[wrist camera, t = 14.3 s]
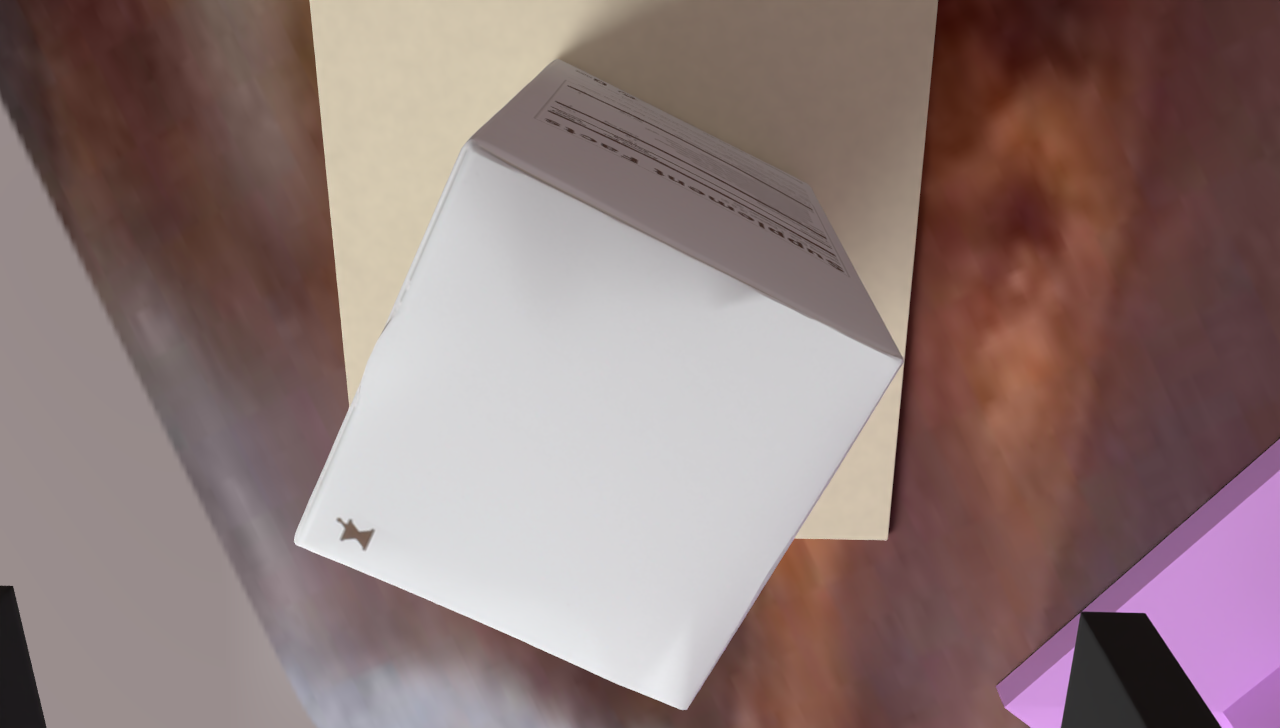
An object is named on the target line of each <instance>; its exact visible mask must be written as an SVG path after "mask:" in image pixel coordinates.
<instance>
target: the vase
mask: <svg viewBox="0 0 1280 728" xmlns="http://www.w3.org/2000/svg"><path fill="white" fill-rule="evenodd" d="M1082 612H1123V613H1146V615H1147V616H1148V618H1149V619H1150V621H1151V622H1152V624H1153V625H1154V627H1155V628H1156V630H1157V631H1158V633H1159V634H1160V636H1161V637H1162V639H1163V640H1164V642H1165V643H1166V645H1167V646H1168V648H1169V649H1170V651H1171V652H1172V654H1173V655H1174V657H1175V658H1176V660H1177V661H1178V663H1179V664H1180V666H1181V667H1182V669H1183V670H1184V672H1185V673H1186V675H1187V676H1188V678H1189V679H1190V681H1191V682H1192V684H1193V685H1194V687H1195V688H1196V690H1197V691H1198V693H1199V694H1200V696H1201V697H1202V699H1203V700H1204V702H1205V703H1206V705H1207V706H1208V708H1209V709H1210V711H1211V712H1212V714H1213V715H1214V717H1215V718H1216V720H1217V721H1218V723H1219V724H1220V726H1221V727H1222V728H1280V439H1279V440H1278V441H1277V442H1275V443H1274V444H1273V445H1272V446H1271V447H1270V448H1269V449H1267V450H1266V451H1265V452H1264V453H1263V454H1262V455H1261V456H1259V457H1258V458H1257V459H1256V460H1255V461H1254V462H1252V463H1251V464H1250V465H1249V466H1248V467H1247V468H1246V469H1244V470H1243V471H1242V472H1241V473H1240V474H1239V475H1238V476H1236V477H1235V478H1234V479H1233V480H1232V481H1231V482H1230V483H1228V484H1227V485H1226V486H1225V487H1224V488H1223V489H1222V490H1220V491H1219V492H1218V493H1217V494H1216V495H1215V496H1213V497H1212V498H1211V499H1210V500H1209V501H1208V502H1207V503H1205V504H1204V505H1203V506H1202V507H1201V508H1200V509H1199V510H1197V511H1196V512H1195V513H1194V514H1193V515H1192V516H1191V517H1189V518H1188V519H1187V520H1186V521H1185V522H1184V523H1183V524H1181V525H1180V526H1179V527H1178V528H1177V529H1176V530H1175V531H1173V532H1172V533H1171V534H1170V535H1169V536H1168V537H1166V538H1165V539H1164V540H1163V541H1162V542H1161V543H1160V544H1158V545H1157V546H1156V547H1155V548H1154V549H1153V550H1152V551H1150V552H1149V553H1148V554H1147V555H1146V556H1145V557H1144V558H1142V559H1141V560H1140V561H1139V562H1138V563H1137V564H1136V565H1134V566H1133V567H1132V568H1131V569H1130V570H1129V571H1128V572H1126V573H1125V574H1124V575H1123V576H1122V577H1121V578H1119V579H1118V580H1117V581H1116V582H1115V583H1114V584H1113V585H1111V586H1110V587H1109V588H1108V589H1107V590H1106V591H1105V592H1103V593H1102V594H1101V595H1100V596H1099V597H1098V598H1097V599H1095V600H1094V601H1093V602H1092V603H1091V604H1090V605H1089V606H1087V607H1086V608H1085V609H1084V610H1083V611H1082ZM1079 619H1080V613H1079V614H1078V615H1077V616H1076V617H1075V618H1074V619H1072V620H1071V621H1070V622H1069V623H1068V624H1067V625H1066V626H1064V627H1063V628H1062V629H1061V630H1060V631H1059V632H1058V633H1056V634H1055V635H1054V636H1053V637H1052V638H1051V639H1050V640H1048V641H1047V642H1046V643H1045V644H1044V645H1043V646H1042V647H1040V648H1039V649H1038V650H1037V651H1036V652H1035V653H1034V654H1032V655H1031V656H1030V657H1029V658H1028V659H1027V660H1025V661H1024V662H1023V663H1022V664H1021V665H1020V666H1019V667H1017V668H1016V669H1015V670H1014V671H1013V672H1012V673H1011V674H1009V675H1008V676H1007V677H1006V678H1005V679H1004V680H1003V681H1001V682H1000V683H999V684H998V685H997V686H996V688H997V691H998V693H999V696H1000V698H1001V700H1002V703H1003V705H1004V707H1005V708H1006V709H1007V710H1008V711H1010V712H1011V713H1012V714H1014V715H1015V716H1016V717H1018V718H1019V719H1020V720H1022V721H1023V722H1024V723H1026V724H1027V725H1028V726H1030V727H1031V728H1061V724H1062V718H1063V713H1064V707H1065V701H1066V695H1067V689H1068V683H1069V678H1070V672H1071V666H1072V660H1073V654H1074V648H1075V643H1076V637H1077V631H1078V625H1079Z"/></svg>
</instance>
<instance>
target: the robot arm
mask: <svg viewBox="0 0 1280 728" xmlns="http://www.w3.org/2000/svg"><path fill="white" fill-rule="evenodd" d="M0 728H46V724H45V720H44V715H43V711H42V707H41V703H40V698H39V694H38V690H37V686H36V682H35V677H34V673H33V669H32V664H31V660H30V656H29V652H28V648H27V643H26V640H25V635H24V631H23V626H22V622H21V618H20V614H19V609H18V605H17V601H16V597H15V592H14V588H13V586H0ZM1061 728H1222V727H1221V726H1220V724H1219V723H1218V721H1217V720H1216V718H1215V717H1214V715H1213V714H1212V712H1211V711H1210V709H1209V708H1208V706H1207V705H1206V703H1205V702H1204V700H1203V699H1202V697H1201V696H1200V694H1199V693H1198V691H1197V690H1196V688H1195V687H1194V685H1193V684H1192V682H1191V681H1190V679H1189V678H1188V676H1187V675H1186V673H1185V672H1184V670H1183V669H1182V667H1181V666H1180V664H1179V663H1178V661H1177V660H1176V658H1175V657H1174V655H1173V654H1172V652H1171V651H1170V649H1169V648H1168V646H1167V645H1166V643H1165V642H1164V640H1163V639H1162V637H1161V636H1160V634H1159V633H1158V631H1157V630H1156V628H1155V627H1154V625H1153V624H1152V622H1151V621H1150V619H1149V618H1148V616H1147V615H1146V613H1123V612H1081V613H1080V619H1079V625H1078V631H1077V637H1076V643H1075V648H1074V654H1073V660H1072V666H1071V672H1070V678H1069V683H1068V689H1067V695H1066V701H1065V707H1064V713H1063V718H1062V724H1061Z"/></svg>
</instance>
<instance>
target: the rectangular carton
mask: <svg viewBox="0 0 1280 728" xmlns="http://www.w3.org/2000/svg"><path fill="white" fill-rule="evenodd" d="M903 363H904V360H903V356H902V355H901V353H900V351H899V349H898V348H897V346H896V344H895V342H894V340H893V338H892V336H891V335H890V333H889V331H888V329H887V327H886V325H885V323H884V321H883V320H882V318H881V316H880V314H879V312H878V310H877V309H876V307H875V305H874V303H873V301H872V299H871V298H870V296H869V294H868V292H867V290H866V288H865V287H864V285H863V283H862V281H861V279H860V277H859V276H858V274H857V272H856V270H855V268H854V266H853V264H852V262H851V260H850V259H849V257H848V255H847V253H846V251H845V249H844V247H843V246H842V244H841V242H840V240H839V238H838V236H837V234H836V233H835V231H834V229H833V227H832V225H831V223H830V222H829V220H828V218H827V216H826V214H825V212H824V210H823V208H822V207H821V205H820V203H819V201H818V200H817V198H816V196H815V194H814V192H813V190H812V188H811V187H810V186H809V185H808V184H807V183H805V182H803V181H801V180H799V179H797V178H795V177H794V176H792V175H790V174H788V173H786V172H784V171H782V170H780V169H778V168H776V167H774V166H772V165H770V164H768V163H766V162H764V161H762V160H760V159H758V158H756V157H754V156H752V155H750V154H748V153H746V152H744V151H742V150H740V149H738V148H736V147H734V146H732V145H730V144H728V143H726V142H724V141H722V140H720V139H718V138H716V137H714V136H712V135H710V134H708V133H706V132H704V131H702V130H700V129H698V128H696V127H694V126H692V125H690V124H688V123H686V122H684V121H682V120H680V119H678V118H676V117H674V116H672V115H670V114H668V113H666V112H664V111H662V110H660V109H658V108H656V107H654V106H652V105H650V104H648V103H646V102H644V101H642V100H640V99H638V98H636V97H634V96H632V95H630V94H629V93H627V92H625V91H623V90H621V89H619V88H617V87H615V86H613V85H611V84H609V83H607V82H605V81H603V80H601V79H599V78H597V77H595V76H593V75H591V74H589V73H587V72H585V71H583V70H581V69H579V68H577V67H574V66H572V65H570V64H568V63H566V62H564V61H562V60H560V59H556V60H554V61H552V62H551V63H549V64H548V65H547V66H546V67H545V68H544V69H543V70H542V71H541V72H540V73H539V74H538V75H537V76H536V77H535V78H534V79H533V80H532V81H531V82H529V83H528V84H527V85H526V86H525V87H524V88H523V89H522V90H521V91H520V92H519V93H518V94H517V95H516V96H514V97H513V98H512V99H511V100H510V101H509V102H508V103H507V104H506V105H505V106H504V107H503V108H502V109H501V110H499V111H498V112H497V113H496V114H495V115H494V116H493V117H492V118H491V119H490V120H489V121H488V122H486V123H485V124H484V125H483V126H482V127H481V128H480V129H479V130H478V131H477V132H476V133H475V134H474V135H472V136H471V137H470V138H469V140H468V141H467V142H466V143H465V144H464V146H463V147H462V148H461V150H460V153H459V155H458V157H457V159H456V162H455V164H454V166H453V169H452V171H451V173H450V176H449V178H448V180H447V183H446V185H445V187H444V190H443V192H442V194H441V197H440V199H439V201H438V204H437V206H436V208H435V211H434V213H433V215H432V218H431V220H430V222H429V225H428V227H427V229H426V232H425V234H424V236H423V239H422V241H421V243H420V245H419V248H418V250H417V252H416V255H415V257H414V259H413V262H412V264H411V266H410V269H409V271H408V273H407V276H406V278H405V280H404V283H403V285H402V287H401V290H400V292H399V294H398V296H397V299H396V301H395V303H394V306H393V308H392V310H391V313H390V315H389V317H388V320H387V322H386V324H385V327H384V329H383V331H382V333H381V335H380V337H379V339H378V340H377V342H376V344H375V346H374V348H373V351H372V353H371V355H370V357H369V359H368V361H367V364H366V367H365V371H364V374H363V377H362V380H361V382H360V384H359V387H358V389H357V391H356V394H355V396H354V398H353V401H352V403H351V405H350V408H349V410H348V412H347V415H346V417H345V419H344V421H343V424H342V426H341V428H340V431H339V433H338V435H337V438H336V440H335V443H334V445H333V447H332V450H331V452H330V454H329V457H328V459H327V461H326V464H325V466H324V468H323V471H322V473H321V475H320V477H319V479H318V482H317V484H316V486H315V488H314V491H313V493H312V495H311V498H310V500H309V502H308V505H307V507H306V509H305V512H304V514H303V516H302V519H301V521H300V523H299V526H298V528H297V531H296V534H295V538H294V542H295V544H296V545H298V546H300V547H303V548H305V549H307V550H310V551H312V552H314V553H317V554H319V555H322V556H324V557H327V558H329V559H332V560H334V561H337V562H339V563H342V564H344V565H346V566H349V567H351V568H354V569H356V570H358V571H361V572H363V573H366V574H368V575H371V576H373V577H375V578H378V579H380V580H383V581H385V582H387V583H390V584H392V585H394V586H397V587H399V588H401V589H404V590H406V591H409V592H411V593H413V594H416V595H418V596H420V597H423V598H425V599H427V600H430V601H432V602H434V603H437V604H439V605H441V606H444V607H446V608H448V609H451V610H453V611H455V612H458V613H460V614H462V615H465V616H467V617H469V618H472V619H474V620H476V621H478V622H481V623H483V624H485V625H488V626H490V627H492V628H494V629H497V630H499V631H501V632H504V633H506V634H508V635H510V636H513V637H515V638H517V639H520V640H522V641H524V642H526V643H528V644H530V645H532V646H534V647H537V648H539V649H541V650H544V651H546V652H548V653H550V654H552V655H555V656H557V657H559V658H561V659H563V660H566V661H568V662H570V663H572V664H574V665H577V666H579V667H581V668H583V669H585V670H588V671H590V672H592V673H594V674H596V675H598V676H601V677H603V678H605V679H607V680H609V681H612V682H614V683H616V684H619V685H621V686H624V687H626V688H629V689H631V690H634V691H636V692H639V693H641V694H644V695H646V696H649V697H651V698H653V699H656V700H658V701H661V702H663V703H666V704H668V705H671V706H673V707H676V708H678V709H680V710H687V708H688V707H689V705H690V704H691V702H692V701H693V699H694V698H695V696H696V695H697V693H698V692H699V690H700V688H701V687H702V685H703V684H704V682H705V681H706V679H707V677H708V676H709V674H710V673H711V671H712V669H713V668H714V666H715V665H716V663H717V661H718V660H719V658H720V657H721V655H722V653H723V652H724V650H725V649H726V647H727V645H728V644H729V642H730V640H731V639H732V637H733V636H734V634H735V632H736V631H737V629H738V628H739V626H740V624H741V623H742V621H743V620H744V618H745V616H746V615H747V613H748V612H749V610H750V608H751V607H752V605H753V604H754V602H755V600H756V599H757V597H758V596H759V594H760V592H761V591H762V589H763V587H764V586H765V584H766V583H767V581H768V579H769V578H770V576H771V575H772V573H773V571H774V570H775V568H776V567H777V565H778V563H779V562H780V560H781V559H782V557H783V555H784V554H785V552H786V551H787V549H788V547H789V546H790V544H791V543H792V541H793V539H794V538H795V536H796V535H797V533H798V532H799V530H800V528H801V527H802V525H803V524H804V522H805V520H806V519H807V517H808V516H809V514H810V513H811V511H812V509H813V508H814V506H815V505H816V503H817V501H818V500H819V498H820V497H821V495H822V493H823V492H824V490H825V489H826V487H827V486H828V484H829V482H830V481H831V479H832V478H833V476H834V474H835V473H836V471H837V470H838V468H839V466H840V465H841V463H842V461H843V460H844V458H845V457H846V455H847V453H848V452H849V450H850V449H851V447H852V445H853V444H854V442H855V440H856V439H857V437H858V436H859V434H860V432H861V431H862V429H863V427H864V426H865V424H866V423H867V421H868V419H869V418H870V416H871V414H872V413H873V411H874V409H875V408H876V406H877V405H878V403H879V401H880V400H881V398H882V396H883V395H884V393H885V391H886V390H887V388H888V387H889V385H890V383H891V382H892V380H893V379H894V377H895V375H896V374H897V372H898V371H899V369H900V368H901V366H902V364H903Z"/></svg>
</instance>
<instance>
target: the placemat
mask: <svg viewBox="0 0 1280 728" xmlns="http://www.w3.org/2000/svg"><path fill="white" fill-rule="evenodd" d="M937 8H938V0H310V9H311V19H312V29H313V40H314V50H315V60H316V70H317V80H318V91H319V101H320V111H321V121H322V132H323V142H324V152H325V162H326V173H327V183H328V193H329V203H330V213H331V224H332V234H333V244H334V254H335V265H336V275H337V285H338V295H339V306H340V316H341V326H342V336H343V346H344V357H345V367H346V377H347V387H348V398H349V408H350V405H351V403H352V401H353V398H354V396H355V394H356V391H357V389H358V387H359V384H360V382H361V380H362V377H363V374H364V371H365V367H366V364H367V361H368V359H369V357H370V355H371V353H372V351H373V348H374V346H375V344H376V342H377V340H378V339H379V337H380V335H381V333H382V331H383V329H384V327H385V324H386V322H387V320H388V317H389V315H390V313H391V310H392V308H393V306H394V303H395V301H396V299H397V296H398V294H399V292H400V290H401V287H402V285H403V283H404V280H405V278H406V276H407V273H408V271H409V269H410V266H411V264H412V262H413V259H414V257H415V255H416V252H417V250H418V248H419V245H420V243H421V241H422V239H423V236H424V234H425V232H426V229H427V227H428V225H429V222H430V220H431V218H432V215H433V213H434V211H435V208H436V206H437V204H438V201H439V199H440V197H441V194H442V192H443V190H444V187H445V185H446V183H447V180H448V178H449V176H450V173H451V171H452V169H453V166H454V164H455V162H456V159H457V157H458V155H459V153H460V150H461V148H462V147H463V146H464V144H465V143H466V142H467V141H468V140H469V138H470V137H471V136H472V135H474V134H475V133H476V132H477V131H478V130H479V129H480V128H481V127H482V126H483V125H484V124H485V123H486V122H488V121H489V120H490V119H491V118H492V117H493V116H494V115H495V114H496V113H497V112H498V111H499V110H501V109H502V108H503V107H504V106H505V105H506V104H507V103H508V102H509V101H510V100H511V99H512V98H513V97H514V96H516V95H517V94H518V93H519V92H520V91H521V90H522V89H523V88H524V87H525V86H526V85H527V84H528V83H529V82H531V81H532V80H533V79H534V78H535V77H536V76H537V75H538V74H539V73H540V72H541V71H542V70H543V69H544V68H545V67H546V66H547V65H548V64H549V63H551V62H552V61H554V60H556V59H560V60H562V61H564V62H566V63H568V64H570V65H572V66H574V67H577V68H579V69H581V70H583V71H585V72H587V73H589V74H591V75H593V76H595V77H597V78H599V79H601V80H603V81H605V82H607V83H609V84H611V85H613V86H615V87H617V88H619V89H621V90H623V91H625V92H627V93H629V94H630V95H632V96H634V97H636V98H638V99H640V100H642V101H644V102H646V103H648V104H650V105H652V106H654V107H656V108H658V109H660V110H662V111H664V112H666V113H668V114H670V115H672V116H674V117H676V118H678V119H680V120H682V121H684V122H686V123H688V124H690V125H692V126H694V127H696V128H698V129H700V130H702V131H704V132H706V133H708V134H710V135H712V136H714V137H716V138H718V139H720V140H722V141H724V142H726V143H728V144H730V145H732V146H734V147H736V148H738V149H740V150H742V151H744V152H746V153H748V154H750V155H752V156H754V157H756V158H758V159H760V160H762V161H764V162H766V163H768V164H770V165H772V166H774V167H776V168H778V169H780V170H782V171H784V172H786V173H788V174H790V175H792V176H794V177H795V178H797V179H799V180H801V181H803V182H805V183H807V184H808V185H809V186H810V187H811V188H812V190H813V192H814V194H815V196H816V198H817V200H818V201H819V203H820V205H821V207H822V208H823V210H824V212H825V214H826V216H827V218H828V220H829V222H830V223H831V225H832V227H833V229H834V231H835V233H836V234H837V236H838V238H839V240H840V242H841V244H842V246H843V247H844V249H845V251H846V253H847V255H848V257H849V259H850V260H851V262H852V264H853V266H854V268H855V270H856V272H857V274H858V276H859V277H860V279H861V281H862V283H863V285H864V287H865V288H866V290H867V292H868V294H869V296H870V298H871V299H872V301H873V303H874V305H875V307H876V309H877V310H878V312H879V314H880V316H881V318H882V320H883V321H884V323H885V325H886V327H887V329H888V331H889V333H890V335H891V336H892V338H893V340H894V342H895V344H896V346H897V348H898V349H899V351H900V353H901V355H902V356H903V360H904V361H905V350H906V339H907V329H908V318H909V307H910V296H911V286H912V275H913V264H914V254H915V243H916V232H917V222H918V211H919V200H920V189H921V179H922V168H923V157H924V147H925V136H926V125H927V115H928V104H929V93H930V82H931V72H932V61H933V50H934V40H935V29H936V18H937ZM903 371H904V363H903V364H902V366H901V368H900V369H899V371H898V372H897V374H896V375H895V377H894V379H893V380H892V382H891V383H890V385H889V387H888V388H887V390H886V391H885V393H884V395H883V396H882V398H881V400H880V401H879V403H878V405H877V406H876V408H875V409H874V411H873V413H872V414H871V416H870V418H869V419H868V421H867V423H866V424H865V426H864V427H863V429H862V431H861V432H860V434H859V436H858V437H857V439H856V440H855V442H854V444H853V445H852V447H851V449H850V450H849V452H848V453H847V455H846V457H845V458H844V460H843V461H842V463H841V465H840V466H839V468H838V470H837V471H836V473H835V474H834V476H833V478H832V479H831V481H830V482H829V484H828V486H827V487H826V489H825V490H824V492H823V493H822V495H821V497H820V498H819V500H818V501H817V503H816V505H815V506H814V508H813V509H812V511H811V513H810V514H809V516H808V517H807V519H806V520H805V522H804V524H803V525H802V527H801V528H800V530H799V532H798V533H797V535H796V536H795V538H806V539H855V540H888V532H889V521H890V511H891V500H892V489H893V478H894V468H895V457H896V446H897V436H898V425H899V414H900V404H901V393H902V382H903Z"/></svg>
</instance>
